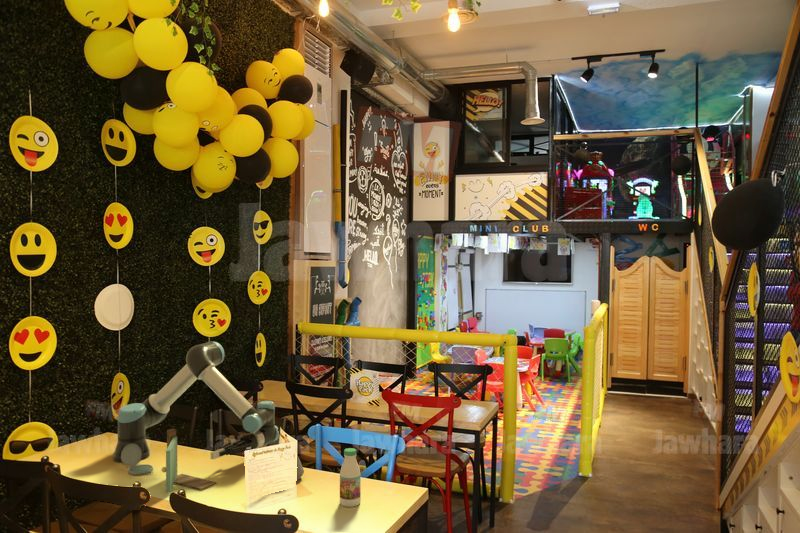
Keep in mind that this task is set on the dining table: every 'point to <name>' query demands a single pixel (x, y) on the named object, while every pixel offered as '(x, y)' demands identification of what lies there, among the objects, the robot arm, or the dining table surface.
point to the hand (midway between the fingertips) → (211, 456)
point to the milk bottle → (350, 480)
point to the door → (171, 464)
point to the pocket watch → (134, 460)
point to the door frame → (186, 479)
